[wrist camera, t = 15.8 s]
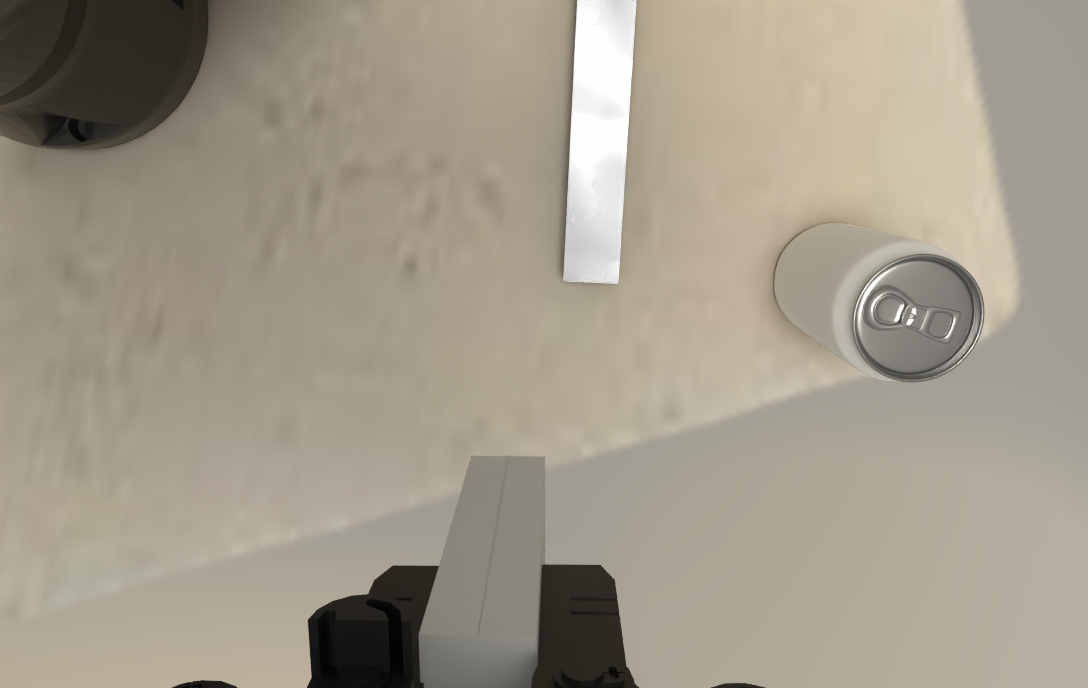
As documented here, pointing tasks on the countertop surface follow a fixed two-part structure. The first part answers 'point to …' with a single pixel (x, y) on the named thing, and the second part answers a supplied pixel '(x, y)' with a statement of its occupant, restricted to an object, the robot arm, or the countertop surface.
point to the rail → (598, 139)
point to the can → (880, 300)
